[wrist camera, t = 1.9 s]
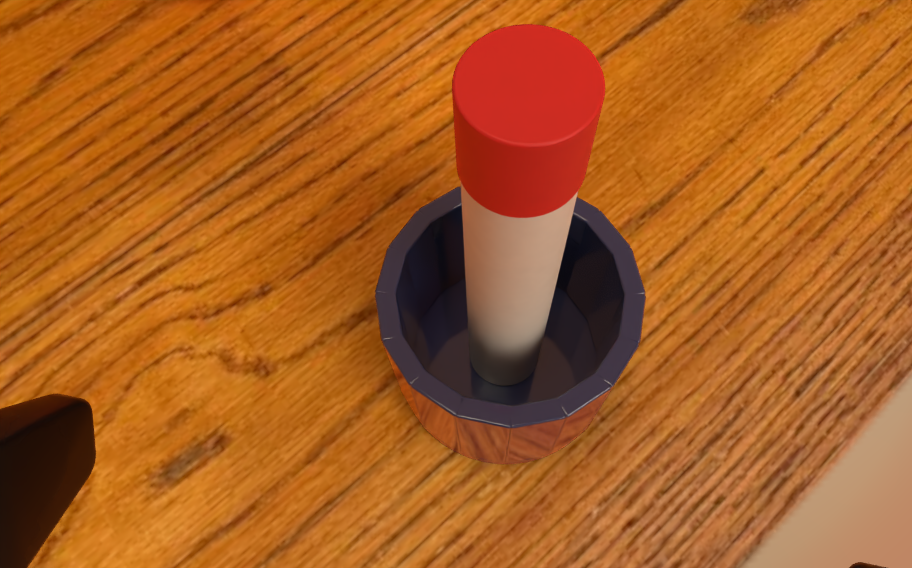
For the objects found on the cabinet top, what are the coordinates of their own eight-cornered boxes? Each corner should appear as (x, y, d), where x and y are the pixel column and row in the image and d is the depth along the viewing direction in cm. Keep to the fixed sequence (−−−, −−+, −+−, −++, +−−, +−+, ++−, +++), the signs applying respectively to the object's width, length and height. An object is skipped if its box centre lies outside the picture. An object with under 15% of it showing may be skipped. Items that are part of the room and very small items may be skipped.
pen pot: (634, 442, 20) (678, 396, 16) (416, 483, 20) (397, 449, 15) (580, 247, 23) (604, 159, 18) (385, 282, 22) (361, 201, 18)
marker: (547, 380, 20) (623, 131, 9) (475, 394, 20) (466, 158, 9) (531, 313, 21) (584, 12, 10) (461, 325, 21) (439, 35, 10)
